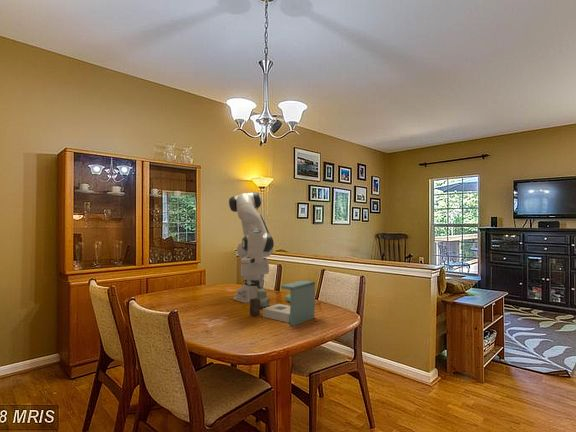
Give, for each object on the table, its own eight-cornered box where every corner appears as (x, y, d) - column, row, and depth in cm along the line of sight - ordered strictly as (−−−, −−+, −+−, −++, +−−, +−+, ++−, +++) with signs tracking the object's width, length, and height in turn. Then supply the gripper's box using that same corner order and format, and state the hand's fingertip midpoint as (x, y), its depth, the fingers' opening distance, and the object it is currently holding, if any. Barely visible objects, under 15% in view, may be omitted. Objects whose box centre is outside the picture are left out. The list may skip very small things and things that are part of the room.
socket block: (262, 316, 190) (262, 308, 190) (278, 311, 201) (278, 303, 201) (288, 322, 179) (288, 314, 179) (303, 316, 190) (303, 308, 190)
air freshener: (258, 304, 218) (259, 288, 218) (270, 305, 215) (271, 289, 215) (251, 308, 208) (251, 291, 208) (264, 309, 205) (264, 292, 205)
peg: (249, 315, 192) (249, 299, 192) (254, 314, 195) (254, 298, 195) (255, 316, 189) (255, 300, 189) (259, 315, 192) (260, 299, 192)
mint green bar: (285, 291, 228) (304, 299, 206) (293, 294, 231) (312, 301, 208) (282, 300, 227) (300, 308, 205) (289, 302, 229) (308, 311, 207)
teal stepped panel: (280, 323, 178) (281, 285, 179) (302, 314, 194) (302, 280, 195) (293, 326, 174) (293, 287, 174) (314, 317, 190) (314, 282, 190)
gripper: (263, 256, 202) (263, 280, 202) (238, 259, 186) (238, 285, 186) (271, 257, 199) (271, 281, 198) (247, 260, 182) (246, 286, 182)
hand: (255, 283), depth 192 cm, fingers open, 8 cm apart
